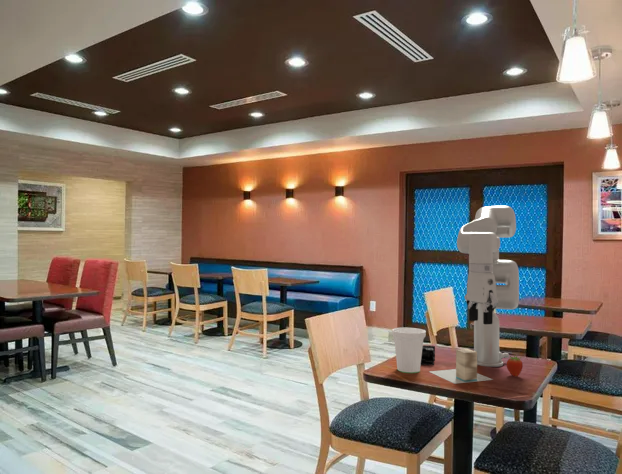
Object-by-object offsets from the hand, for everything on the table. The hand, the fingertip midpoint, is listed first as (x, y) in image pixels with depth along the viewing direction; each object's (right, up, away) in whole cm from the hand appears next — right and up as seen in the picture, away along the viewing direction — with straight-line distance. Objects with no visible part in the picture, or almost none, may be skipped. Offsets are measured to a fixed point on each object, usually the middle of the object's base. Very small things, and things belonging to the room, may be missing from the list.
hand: (480, 321), depth 162 cm
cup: (-20, -22, +19) cm, 35 cm away
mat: (-3, -22, +12) cm, 25 cm away
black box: (-12, -22, +32) cm, 41 cm away
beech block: (-3, -21, +7) cm, 23 cm away
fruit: (+17, -22, +12) cm, 30 cm away
